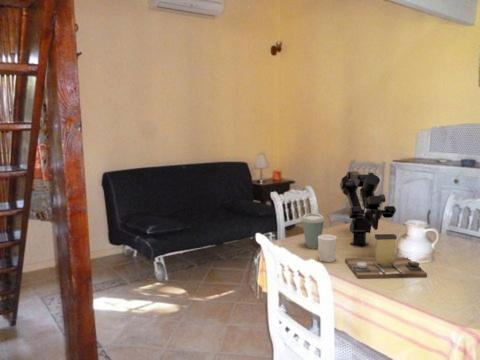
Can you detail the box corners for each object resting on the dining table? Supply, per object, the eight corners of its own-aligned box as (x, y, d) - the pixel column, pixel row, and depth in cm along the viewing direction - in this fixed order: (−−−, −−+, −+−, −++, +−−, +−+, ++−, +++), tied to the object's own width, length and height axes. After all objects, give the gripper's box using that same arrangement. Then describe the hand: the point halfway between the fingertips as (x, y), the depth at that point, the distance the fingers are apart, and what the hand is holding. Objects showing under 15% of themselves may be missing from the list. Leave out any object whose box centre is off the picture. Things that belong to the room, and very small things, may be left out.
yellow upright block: (373, 264, 159) (374, 233, 158) (392, 264, 159) (393, 233, 158) (376, 268, 155) (377, 236, 154) (396, 267, 155) (397, 236, 154)
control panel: (345, 261, 167) (345, 256, 167) (406, 260, 168) (407, 254, 167) (358, 279, 149) (358, 272, 149) (427, 277, 149) (427, 271, 149)
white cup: (325, 264, 165) (326, 240, 164) (314, 258, 172) (314, 236, 171) (340, 260, 169) (340, 237, 168) (328, 255, 176) (328, 233, 174)
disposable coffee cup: (326, 249, 183) (326, 218, 181) (302, 250, 184) (302, 218, 182) (322, 242, 194) (322, 212, 192) (299, 243, 194) (299, 213, 192)
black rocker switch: (407, 263, 156) (407, 261, 156) (414, 263, 156) (414, 261, 156) (411, 265, 152) (411, 263, 152) (419, 265, 152) (419, 263, 152)
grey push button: (355, 265, 156) (355, 261, 156) (364, 265, 156) (365, 261, 156) (358, 268, 152) (358, 265, 152) (367, 268, 152) (368, 265, 152)
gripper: (351, 188, 169) (358, 220, 160) (395, 187, 169) (404, 219, 160) (345, 202, 178) (352, 233, 169) (387, 201, 178) (396, 232, 169)
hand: (376, 229), depth 166 cm, fingers closed
